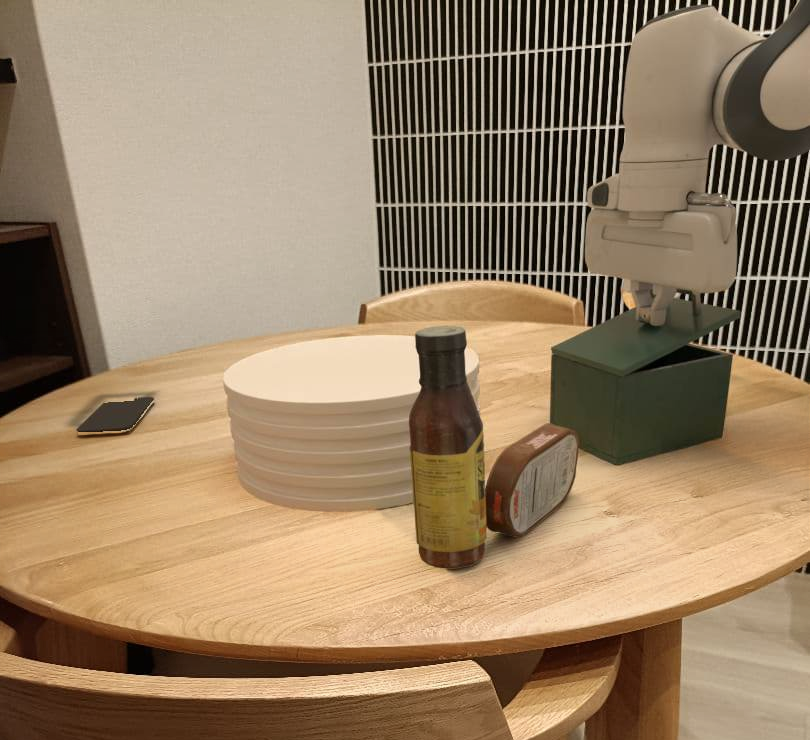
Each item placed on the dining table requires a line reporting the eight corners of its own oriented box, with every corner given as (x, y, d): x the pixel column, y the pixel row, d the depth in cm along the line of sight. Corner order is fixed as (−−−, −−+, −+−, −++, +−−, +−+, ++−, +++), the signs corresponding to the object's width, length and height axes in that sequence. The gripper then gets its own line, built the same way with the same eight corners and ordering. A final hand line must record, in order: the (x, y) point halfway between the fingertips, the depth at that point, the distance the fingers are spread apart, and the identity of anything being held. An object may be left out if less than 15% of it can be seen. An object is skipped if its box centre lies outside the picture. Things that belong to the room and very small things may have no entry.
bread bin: (649, 410, 106) (655, 334, 101) (723, 437, 96) (733, 354, 91) (549, 434, 100) (551, 354, 96) (616, 465, 90) (621, 377, 85)
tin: (554, 489, 85) (556, 410, 81) (582, 494, 83) (586, 415, 79) (479, 546, 74) (478, 459, 70) (510, 554, 72) (510, 465, 69)
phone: (156, 396, 122) (129, 427, 108) (157, 401, 122) (130, 433, 109) (106, 399, 122) (73, 431, 108) (107, 404, 122) (74, 437, 109)
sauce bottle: (497, 565, 71) (496, 334, 62) (429, 578, 69) (417, 344, 61) (471, 534, 76) (466, 318, 68) (407, 545, 75) (393, 327, 66)
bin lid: (660, 301, 100) (656, 262, 97) (740, 317, 90) (738, 274, 87) (551, 353, 96) (544, 314, 93) (622, 377, 85) (616, 333, 83)
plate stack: (450, 413, 109) (448, 326, 104) (510, 493, 84) (510, 384, 79) (239, 436, 106) (225, 347, 101) (236, 526, 81) (218, 415, 76)
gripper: (761, 191, 79) (742, 335, 85) (621, 185, 95) (614, 306, 102) (712, 196, 76) (696, 344, 83) (577, 189, 93) (572, 313, 99)
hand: (650, 323), depth 92 cm, fingers closed
